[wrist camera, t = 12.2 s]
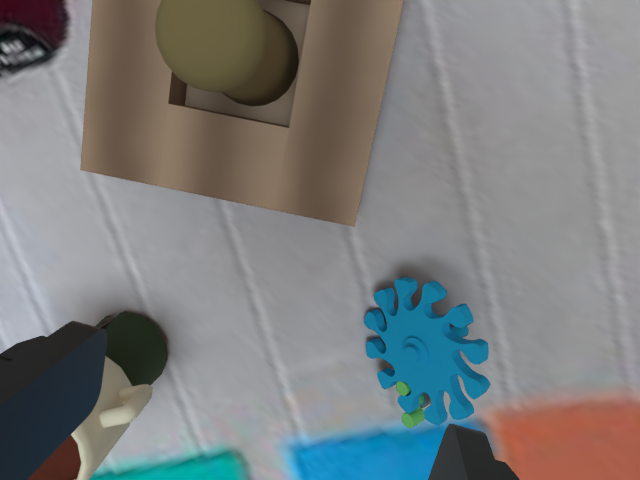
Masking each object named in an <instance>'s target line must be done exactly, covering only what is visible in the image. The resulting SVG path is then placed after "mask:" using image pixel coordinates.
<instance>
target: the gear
mask: <svg viewBox="0 0 640 480" xmlns="http://www.w3.org/2000/svg"><path fill="white" fill-rule="evenodd" d="M417 287H418V284H417V281H416V280H415V279H413V278H409V277H402V278H399V279H396V281H395V289H396V291H397V294H398V299H399V305H398V311H396V310H395V308H394V300H395V293H394V290H393V289H392V288H386V289H383V290H380V291H378V292H376V293H375V294H374V299H375V301H376V303H377V304H378V305H379V306H380V308H381V309H382V311H383V313H384V315H385V318H386V322H387V326H386V325H385V322H384V318H383V315H382V313H381V312H380V310H378V309H375V310H372V311H370V312H368V313H367V315H366V317H365V319H364V324H365V325H366V326H367V327H368V328H369V329H372V330H374V331H375V332H376V333H377V334H378V335H379V336H380V337H381V338H382V340H383V341H384V343H385V345H386V347H385V346H384V344H383V343H382V341H381V340H380V339H378V338H375V339H372V340H370V341H367V344H366V351H367V356H368V357H370V358H372V359H373V358H382V359H384V360H386V361H387V362H389V363H390V364H391V365H392V366H393V367H394V370H395V371H394V370H392V369H391V368H386V369H384V370H382V371H380V372H378V373H377V376H378V379H379V382H380V384H381V386H382V388H384V389H387V388H389V387H391V386H393V385H395V384H396V383H397V384H396V388H397V391H398V392H399V393H400V394H401V396H400V397H399V398H398V403H399V405H400V406H401V407H402V408H403V409H404V411H406V413H404V414H403V415H402V421H403V423H404V425H405V426H406V427H408V428H412V427H413V426H415V425H416V424H418V423H420V422H421V421H423V420H424V419H426V420H427V421H429V422H431V423H433V424H435V425H438V426H439V425H440V424H442V423H443V422H445V421H446V420H447V412H446V410H445V406H444V401H443V395H444V391H446V392H447V393H448V394H449V395H450V398H451V402H450V406H449V412H450V414H451V416H452V418H453V419H456V420H460V419H464V418H467V417H468V416H470V415H471V414H473V413H474V408H473V406H472V404H471V402H470V401H469V400H468V399H467V398H466V397H465V395H464V394H463V392H462V390H461V388H460V385H459V381H458V376H457V375H459V376H460V377H461V378H462V379H463V382H464V386H465V390H466V392H467V394H468V395H469V396H470V397H471V398H472V399H476V398H478V397H479V396H481V395H482V394H484V393H485V392H486V391H487V390H488V388H489V386H490V382H489V381H488V379H487V378H486V377H484V376H483V375H480V374H478V373H476V372H475V371H473V370H472V369H471V368H470V367H469V366H468V365H467V364H466V363H465V361H464V360H463V359H462V357H461V356H460V353H459V350H461V351H462V352H463V353H464V354H465V356H466V357H467V358H468V360H469V361H470V362H472V363H473V364H481V363H482V362H484V361H486V360H487V358H488V343H487V342H486V341H484V340H482V339H477V340H466V339H463V337H465V336H467V334H468V328H467V325H469V324H471V323H472V322H473V316H472V314H471V312H470V309H469V308H468V306H467V304H460V305H458V306H456V307H453V308H452V309H450V311H449V313H448V314H447V315H440V316H439V315H436V314H435V313H434V312H433V311H432V308H431V304H432V303H435V302H437V301H440V300H442V299H444V298H445V297H446V294H447V291H446V290H445V289H444V287H443V286H442V285H440V284H439V283H438V282H436V281H432V282H429V283H426V284H425V285H424V286H423V289H422V298H421V301H420V303H419V305H418V306H417V307H414V306H413V304H412V302H411V296H412V294H413V293H414V292H415V291H416V290H417ZM449 324H452V325H454V326H452V327H450V326H449ZM397 381H399V382H397ZM430 403H431V405H430V406H429V407H427V408H426V409H425V411H423V410H422V409H421V408H424V407H426V406H427V405H429V404H430Z"/></svg>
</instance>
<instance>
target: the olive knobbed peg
mask: <svg viewBox="0 0 640 480" xmlns="http://www.w3.org/2000/svg"><path fill="white" fill-rule="evenodd" d="M155 34H156V41H157V46H158V49H159V51H160V53H161V55H162V57H163V60H164V62H165V63H166V64H167V66H168V67H169V68H170V69H171V70H172V72H173V73H174V74H175V75H176V76H177V77H178V78H179V79H180V80H182V81H183V82H185V83H186V84H188V85H190V86H191V87H193V88H196V89H200V90H204V91H208V92H222V93H223V94H224V95H225V96H227V97H228V98H230V99H232V100H233V101H235V102H236V103H239V104H243V105H247V106H263V105H267V104H269V103H271V102H274V101H276V100H278V99H279V98H280V97H281V96H282V95H283V94H285V93H286V92H287V91H288V90H289V88H290V86H291V85H292V83H293V81H294V79H295V78H296V73H297V69H298V64H299V57H298V47H297V44H296V41H295V39H294V36H293V34H292V32H291V31H290V29H289V28H288V27H287V26H286V24H285V23H284V22H283V21H282V20H281V19H279V18H278V17H276V16H275V15H273V14H272V13H270V12H268V11H265V10H262V8H261V6H260V4H259V2H258V1H257V0H161V3H160V5H159V7H158V9H157V14H156V21H155Z"/></svg>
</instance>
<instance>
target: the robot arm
mask: <svg viewBox="0 0 640 480" xmlns="http://www.w3.org/2000/svg"><path fill="white" fill-rule="evenodd" d="M107 341H108V335H107V331H106V330H104V329H101V328H98V327H94V326H90V325H86V324H83V323H79V322H75V321H72V322H69V323H68V324H66V325H65V326H63V327H62V328H60V329H59V330H57V331H56V332H54V333H53V334H51V335H50V336H48V337H45V336H39V337H36V338H33V339H30V340H27V341H23V342H20V343H17V344H15V345H14V346H12V347H11V348H9V349H7V350H6V351H4V352H3V353H1V354H0V480H28V479H29V477H30V476H31V475H32V474H33V473H34V472H35V471H36V470H37V469H38V468H39V467H40V466H41V465H42V464H43V463H44V462H45V461H46V460H47V459H48V458H49V457H50V456H51V455H52V454H53V452H54V451H55V450H56V449H57V448H58V447H59V446H60V445H61V444H62V443H63V442H64V441H65V440H66V439H67V438H68V437H69V436H70V435H71V434H72V433H73V432H74V431H75V430H76V429H77V428H78V426H79V425H80V424H81V423H82V422H83V421H84V420H85V419H86V418H87V417H88V416H89V415H90V413H91V412H92V410H93V409H94V407H95V405H96V403H97V401H98V398H99V395H100V392H101V387H102V379H103V372H104V364H105V356H106V349H107ZM428 480H520V479H519V478H518V477H517V476H516V475H515V473H514V472H513V471H512V470H511V469H510V467H509V466H508V465H507V464H506V463H505V462H501V461H498V460H495V458H494V456H493V453H492V450H491V447H490V444H489V442H488V439H487V436H486V434H485V433H484V432H480V431H476V430H473V429H469V428H465V427H462V426H458V425H454V424H449V425H448V427H447V428H446V430H445V433H444V436H443V439H442V441H441V444H440V447H439V450H438V453H437V456H436V459H435V461H434V464H433V467H432V470H431V473H430V476H429V479H428Z"/></svg>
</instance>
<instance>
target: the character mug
mask: <svg viewBox="0 0 640 480" xmlns="http://www.w3.org/2000/svg"><path fill="white" fill-rule="evenodd" d="M108 317H109V316H106V317H105V318H104V319H103V320H102V321H101V322H100V323H98V324H97V325H96V326H95V327H98V328H99V327H100V326H101V325H102V324H103V323H104V321H105V320H106V319H107V318H108ZM101 329H104V330H106V331H107V335H108V341H107V349H106V356H105V364H104V372H103V379H102V387H101V392H100V395H99V398H98V401H97V403H96V405H95V407H94V409H93V410H92V412H91V413H90V415H89V416H88V417H87V418H86V419H85V420H84V421H83V422H82V423H81V424H80V425H79V426H78V428H77V429H76V430H75V431H74V432H73V433H72V434H71V435H70V436H69V437H68V438H67V439H66V440H65V441H64V442H63V443H62V444H61V445H60V446H59V447H58V448H57V449H56V450H55V451H54V452H53V454H52V455H51V456H50V457H49V458H48V459H47V460H46V461H45V462H44V463H43V464H42V465H41V466H40V467H39V468H38V469H37V470H36V471H35V472H34V473H33V474H32V475H31V476H30V477H29V479H28V480H89V479H90V478H91V476H92V475H93V473H94V472H95V471H96V469H97V468H98V467H99V465H100V464H101V463H102V461H103V460H104V459H105V457H106V456H107V455H108V453H109V452H110V451H111V449H112V448H113V447H114V445H115V444H116V443H117V441H118V440H119V439H120V437H121V436H122V435H123V433H124V432H125V431H126V429H127V428H128V427H129V425H130V422H131V421H133V420H134V419H135V418H136V417H137V416H138V415H139V413H140V412H141V411H142V409H143V408H144V407H145V405H146V404H147V403H148V401H149V400H150V399H151V396H152V390H153V388H152V387H151V386H150V385H151V384H152V383H153V382H154V381H155V380H156V379H157V378H158V377H159V376H160V375H161V374H162V372H163V369H164V366H165V364H166V361H167V356H166V348H165V342H164V340H163V338H162V336H161V334H160V332H159V330H158V328H157V327H156V326H155V325H154V324H152V323H151V322H150V321H148V320H147V319H145V318H144V317H143V316H140V315H136V314H132V313H128V312H123V313H120V314H119V315H118V316H117V317H116V318H115V319H114V320H113V321H112V322H111V323H109V324H107V325H106V326H104V327H102V328H101Z"/></svg>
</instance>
